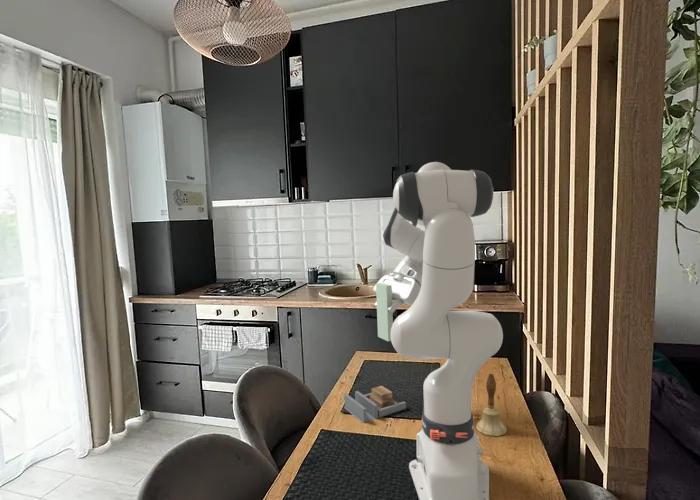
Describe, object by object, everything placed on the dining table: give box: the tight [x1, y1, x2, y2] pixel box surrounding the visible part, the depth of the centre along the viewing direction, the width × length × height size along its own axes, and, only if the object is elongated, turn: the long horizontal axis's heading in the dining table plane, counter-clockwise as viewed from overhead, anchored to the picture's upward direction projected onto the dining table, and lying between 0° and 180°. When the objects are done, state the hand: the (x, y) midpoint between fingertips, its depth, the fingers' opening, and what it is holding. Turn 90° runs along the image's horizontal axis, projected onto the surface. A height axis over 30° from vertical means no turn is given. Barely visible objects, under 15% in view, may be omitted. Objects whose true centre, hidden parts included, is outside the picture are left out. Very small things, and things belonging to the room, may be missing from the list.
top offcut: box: [370, 385, 393, 403], centre depth 130 cm, size 4×6×2 cm, turn 29°
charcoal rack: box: [343, 390, 407, 424], centre depth 128 cm, size 16×12×5 cm
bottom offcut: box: [370, 395, 396, 409], centre depth 130 cm, size 5×7×2 cm
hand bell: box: [475, 373, 508, 437], centre depth 115 cm, size 8×8×16 cm
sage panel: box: [375, 282, 394, 342], centre depth 131 cm, size 2×6×18 cm, turn 30°
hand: (383, 309), depth 130 cm, fingers closed on sage panel, 6 cm apart
